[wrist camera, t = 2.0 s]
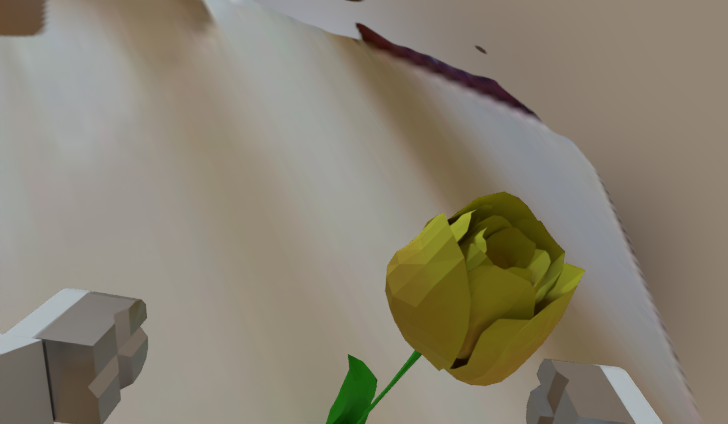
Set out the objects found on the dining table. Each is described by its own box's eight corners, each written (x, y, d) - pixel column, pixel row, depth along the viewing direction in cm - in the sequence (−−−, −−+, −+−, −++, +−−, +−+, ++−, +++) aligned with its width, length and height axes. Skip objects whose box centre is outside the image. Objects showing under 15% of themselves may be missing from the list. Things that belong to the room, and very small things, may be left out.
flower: (390, 467, 42) (633, 279, 22) (317, 524, 37) (548, 346, 17) (339, 384, 46) (509, 159, 26) (267, 426, 41) (408, 185, 21)
